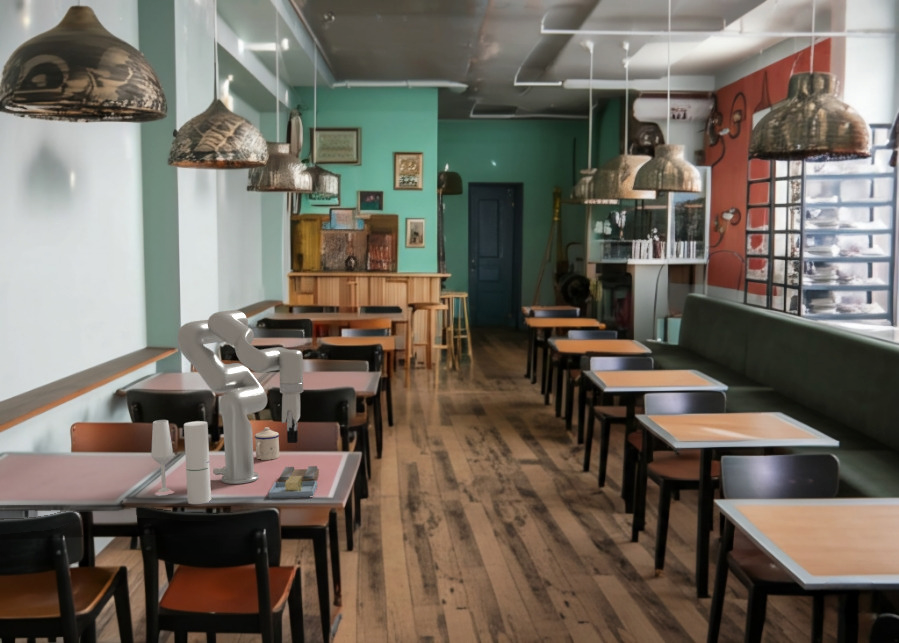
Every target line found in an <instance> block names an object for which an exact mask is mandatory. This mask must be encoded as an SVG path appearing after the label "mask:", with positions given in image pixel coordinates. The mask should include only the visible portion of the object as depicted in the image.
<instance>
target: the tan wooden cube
mask: <svg viewBox="0 0 899 643" xmlns="http://www.w3.org/2000/svg"><path fill="white" fill-rule="evenodd" d="M285 488H286V491H300V486H299V479H288V480H286V482H285Z"/></svg>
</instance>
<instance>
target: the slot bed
mask: <svg viewBox="0 0 899 643" xmlns="http://www.w3.org/2000/svg"><path fill="white" fill-rule="evenodd" d="M289 476H302V481H316V480H317V481H318V479H319V477H320V468H318V465H309V466H307V468H304V469H297V468H296V469H295V466H285V467H284V469H283V471H282V472H281V474H280V476H279V477H278V480H277V482H286V480H288V479H289ZM318 476H319V477H318ZM317 478H318V479H317Z"/></svg>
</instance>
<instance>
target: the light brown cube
mask: <svg viewBox="0 0 899 643" xmlns="http://www.w3.org/2000/svg"><path fill="white" fill-rule="evenodd" d="M289 479H299V486H300V491H301V490H302V476H289Z"/></svg>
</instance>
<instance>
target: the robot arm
mask: <svg viewBox="0 0 899 643" xmlns="http://www.w3.org/2000/svg"><path fill="white" fill-rule="evenodd" d="M254 336H255V334H254V331H253V329H252V328H250V327H249V320H248V317H247V315H246V314H245V313H244V312H243V311H241V310H238V309H237V310H236V309H232V310H222V311H221V310H220V311H218V312H217V311H216V312H215V313H212V314H211V315H210V316H209V317H208V318H207V319H201V320H194V321H190V322H186V323H185V324H183V325H182V326H181V327H180V328H179V330H178V332H177V344H178V348H179V350H180V352H181V353H182V356H184V358H185V359H186V360H187V361H188V363H190V364H191V365H192V366H193V367H194V369H195V370H196V372H197V373H198V374H199V376H200V377H201V378H202V380H203V381H204V382H205V383H206V385H207V386H208V388H209V389H210V390H211V391H212V392H213V393H216V394H222V395H221V397H220V399H219V410H220V414H221V417H222V418H221V419H222V426H223V440H224V441H223V442H224V444H223V445H224V458H225V459H224V462H225V463H224V464H225V466H223V467H221V468H220V467H214V468H213V470H212V471H213V474H214V475H215V476H221V475H222V476H221V482H222V483H224V484H230V485H231V484H232V485H238V484H239V485H240V484H246V483H252V482H254V481H255V482H256V481H257V480H258V479H259V477H260V474H259V473H257V472H255V465H254V464H255V461H254V441H253V426H252V424H251V421H250V420H249V418H248V415H251V414H254V413H258V412H260V411H262V410H264V409H265V408H266V407H267V404H268V395H267V393H266V390H265V389H264V388H263V386H262V385H261V384H260V382H259V381H258V380H257V378H256V376H254V374H253V373H252V372H251V370H252V371H253V372H255V373H260V374H263V373H269V372H273V371H274V372H275V371H279V393H280V394H282V397H281V423H282V424H285V423H286V425H287V427H286V428H287V430H286V434H287V435H286V436H287V437H286V439H287V443H288V444H296V443H298V441H299V440H298V439H299V436H298V434H299V432H298V431H299V430H298V421H299V420H300V418H301V394H302V393H303V392H304V366H303V365H304V362H303V357H304V356H303V352H302V351H301V350H300V349H287V348H285V347H281V346H280V347H279V346H277V347H270V348H264V349H263V348H262V349H258V348H256V347H255V346H253V345H252V342H253V341H254V338H255V337H254ZM219 342H225V343H226V344H227V345H229V346H230V347H232V348H233V349H234V350H235V353H236V357H237V358H238V360H239V362H241V363H238V362H234V363H233V362H232V363H224V362H223V361H222V360H221V359H220V358H219V356H218V355H217V354H216V353H215V352H214V351H213V350H211V349H210V348H208V347H207V346H205V345H209V344H215V343H219Z"/></svg>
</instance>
